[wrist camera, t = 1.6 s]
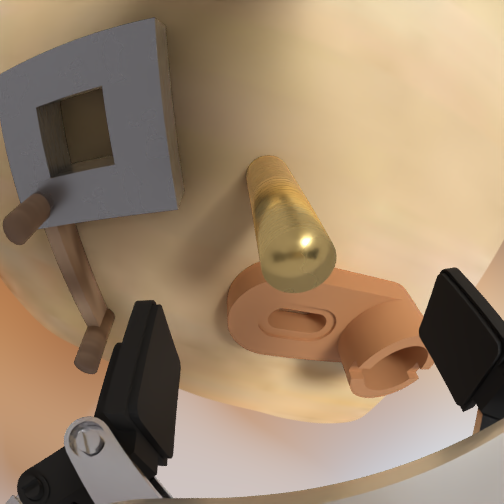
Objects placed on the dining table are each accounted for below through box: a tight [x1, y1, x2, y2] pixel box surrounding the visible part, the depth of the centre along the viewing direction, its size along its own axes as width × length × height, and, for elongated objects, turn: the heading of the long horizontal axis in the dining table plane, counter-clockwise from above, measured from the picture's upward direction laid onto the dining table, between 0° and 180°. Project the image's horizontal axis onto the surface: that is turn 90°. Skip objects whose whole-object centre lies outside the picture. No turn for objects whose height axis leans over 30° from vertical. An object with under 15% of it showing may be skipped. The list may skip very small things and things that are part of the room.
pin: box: [246, 156, 336, 293], centre depth 15 cm, size 3×3×10 cm
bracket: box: [227, 262, 434, 398], centre depth 24 cm, size 18×8×7 cm, turn 72°
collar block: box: [0, 17, 184, 229], centre depth 15 cm, size 11×11×3 cm
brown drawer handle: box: [3, 193, 115, 374], centre depth 19 cm, size 14×2×6 cm, turn 3°
